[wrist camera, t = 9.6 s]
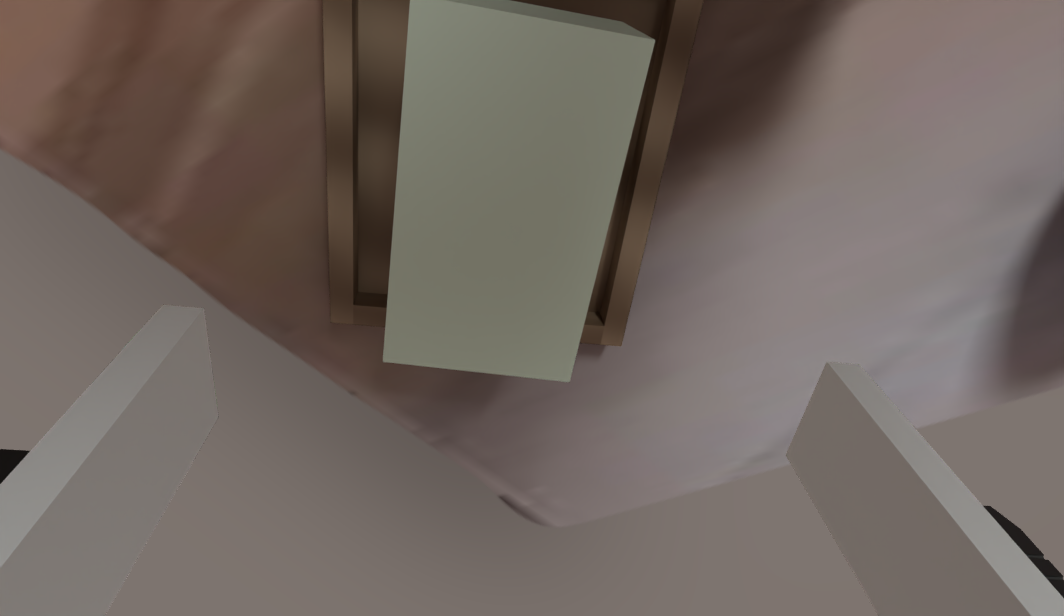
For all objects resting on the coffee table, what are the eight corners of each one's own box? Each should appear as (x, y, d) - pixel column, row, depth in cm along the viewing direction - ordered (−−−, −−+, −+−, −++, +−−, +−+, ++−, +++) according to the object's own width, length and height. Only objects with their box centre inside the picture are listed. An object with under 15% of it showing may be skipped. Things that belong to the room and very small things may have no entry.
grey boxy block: (556, 313, 33) (569, 382, 28) (400, 293, 32) (382, 361, 27) (622, 21, 26) (655, 40, 21) (426, -16, 25) (410, -7, 20)
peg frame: (330, -119, 26) (310, -127, 23) (703, -59, 28) (729, -60, 25) (338, 304, 36) (324, 337, 33) (615, 327, 38) (626, 361, 35)
